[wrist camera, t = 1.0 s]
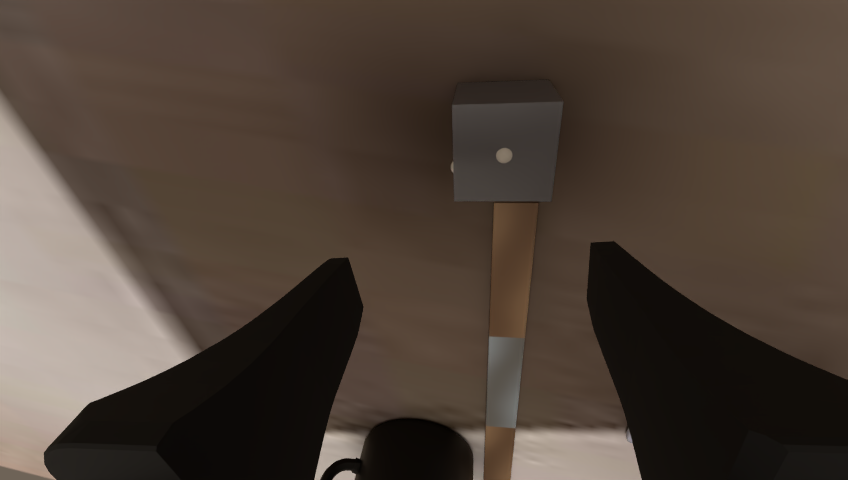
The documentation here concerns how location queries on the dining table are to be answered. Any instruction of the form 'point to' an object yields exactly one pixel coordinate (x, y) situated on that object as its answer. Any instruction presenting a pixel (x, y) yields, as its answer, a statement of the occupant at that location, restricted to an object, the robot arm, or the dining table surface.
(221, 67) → the dining table surface
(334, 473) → the mug
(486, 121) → the die
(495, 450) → the wooden stick
